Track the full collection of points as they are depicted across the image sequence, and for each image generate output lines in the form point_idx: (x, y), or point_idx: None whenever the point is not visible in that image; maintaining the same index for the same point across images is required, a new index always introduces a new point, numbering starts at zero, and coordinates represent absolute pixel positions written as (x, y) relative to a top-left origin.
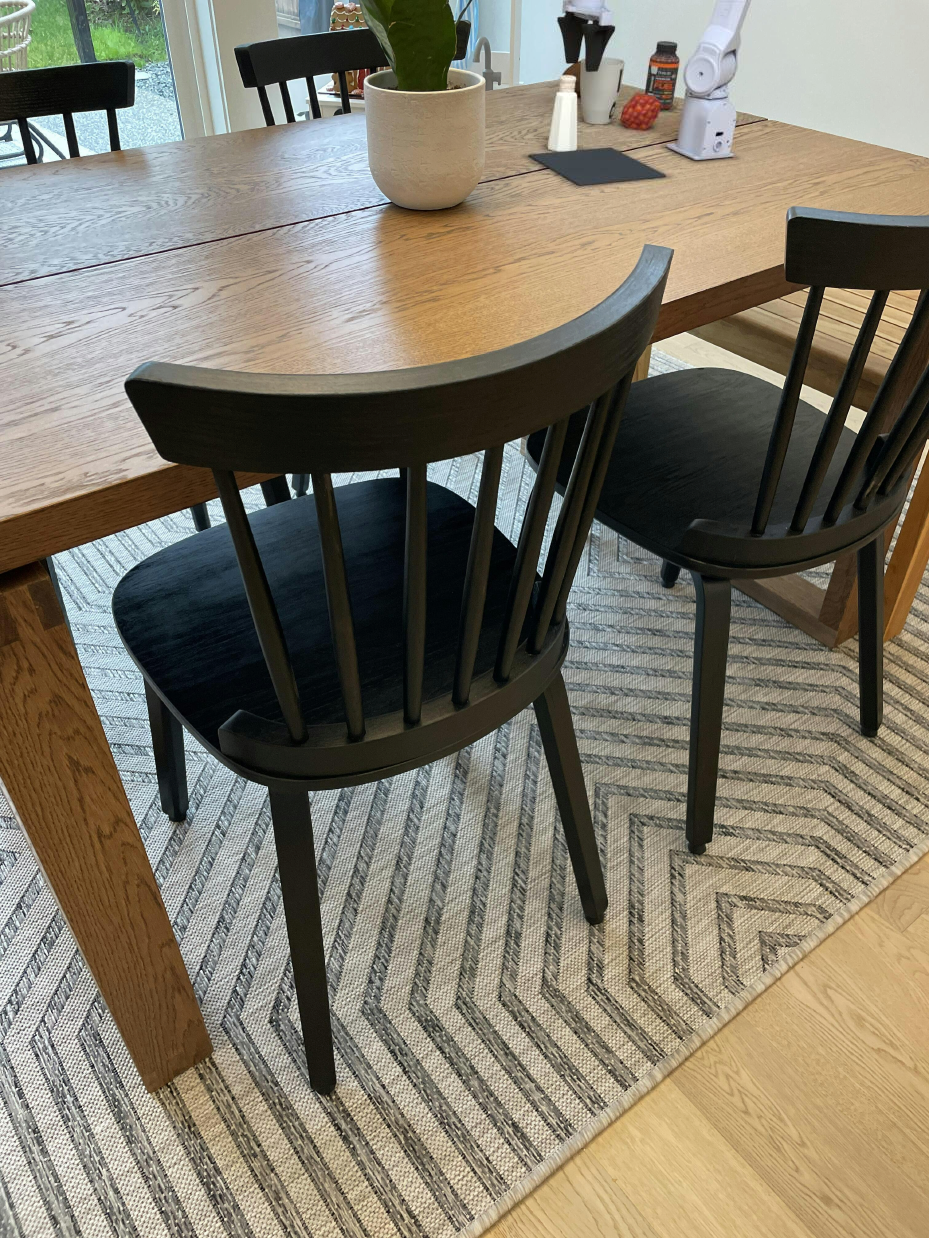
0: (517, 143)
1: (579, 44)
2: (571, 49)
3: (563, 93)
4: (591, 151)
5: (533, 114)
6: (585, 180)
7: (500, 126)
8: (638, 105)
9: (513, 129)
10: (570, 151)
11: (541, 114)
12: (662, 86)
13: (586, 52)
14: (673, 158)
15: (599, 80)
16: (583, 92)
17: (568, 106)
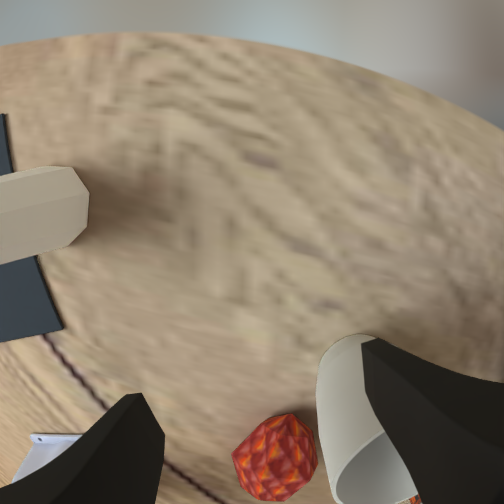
0: (111, 86)
1: (403, 451)
2: (395, 399)
3: None
4: (23, 273)
5: (448, 207)
6: None
7: (319, 66)
8: (247, 466)
9: (280, 95)
10: None
11: (445, 230)
12: (415, 496)
13: (86, 443)
14: (37, 413)
15: (334, 428)
16: None
17: None
